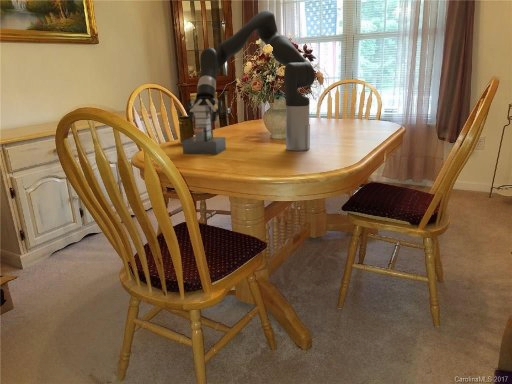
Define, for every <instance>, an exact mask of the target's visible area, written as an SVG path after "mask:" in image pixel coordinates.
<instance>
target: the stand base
mask: <svg viewBox="0 0 512 384" xmlns="http://www.w3.org/2000/svg"><path fill="white" fill-rule="evenodd" d="M193 133H194V135H195V136H193V137H191V138H189V139H186V140H184V141H182V143H183V144H182V153H183V154H184V155H215V156H217V155H219V154H220V153H222V152H224V151H225V150H227V144H226V142H227V141H226V136H213V137H211V138H210V139H208V140H205V128H196V127H195V128H193Z"/></svg>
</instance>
